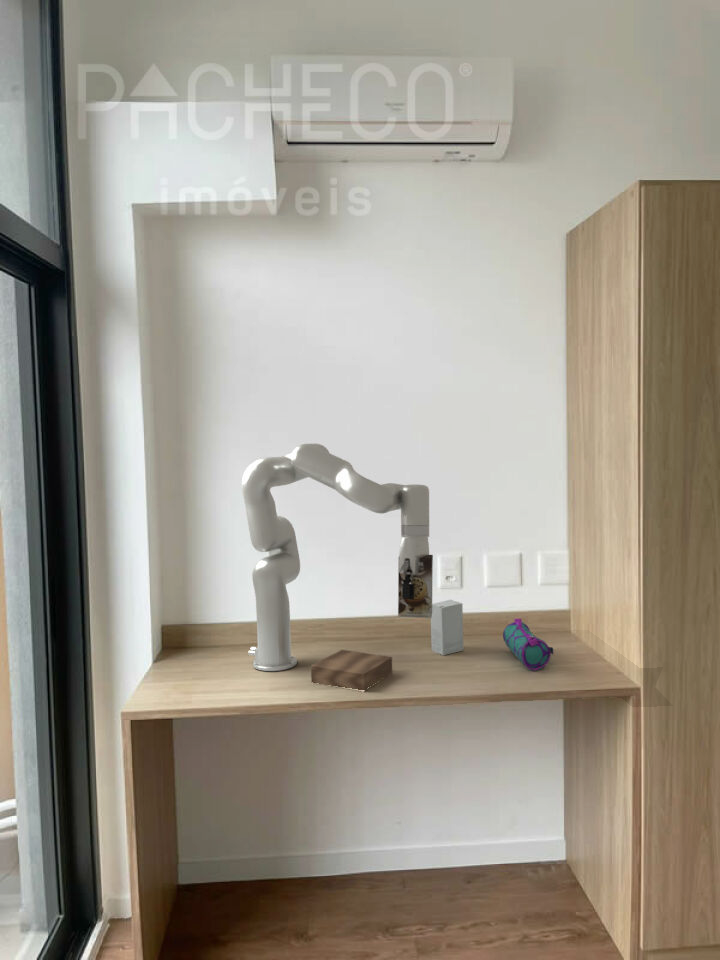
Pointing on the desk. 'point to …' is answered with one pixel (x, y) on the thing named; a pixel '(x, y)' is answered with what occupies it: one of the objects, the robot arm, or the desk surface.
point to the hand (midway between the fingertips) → (415, 595)
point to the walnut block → (351, 669)
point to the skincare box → (447, 627)
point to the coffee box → (418, 591)
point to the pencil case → (526, 645)
